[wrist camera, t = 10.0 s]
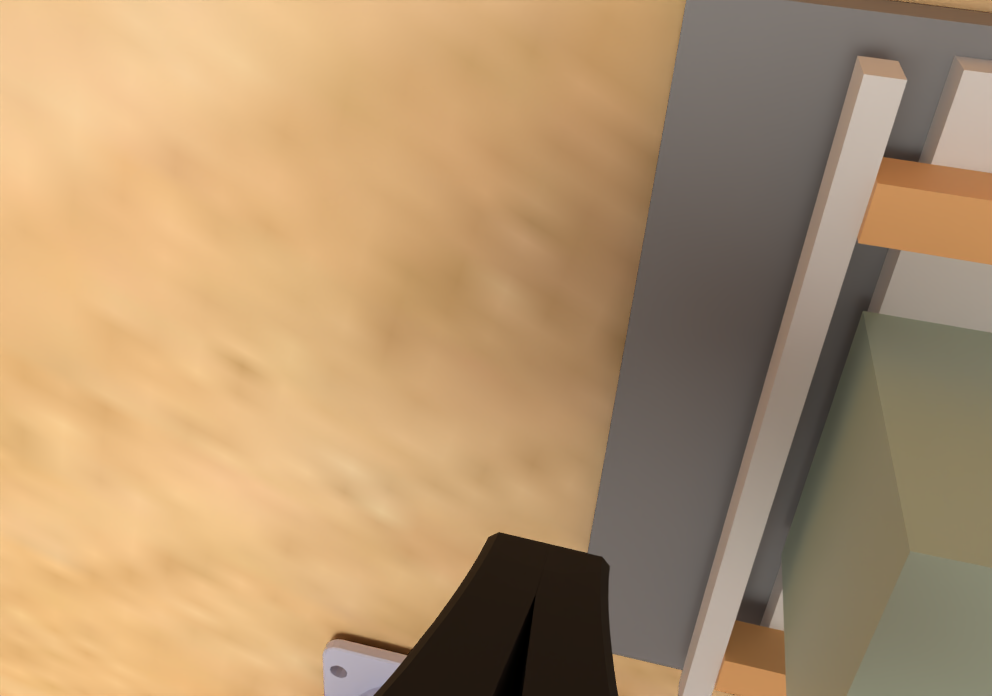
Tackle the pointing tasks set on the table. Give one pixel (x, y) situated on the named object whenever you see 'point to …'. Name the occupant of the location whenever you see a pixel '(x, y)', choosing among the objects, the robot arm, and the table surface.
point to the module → (897, 522)
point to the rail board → (778, 297)
